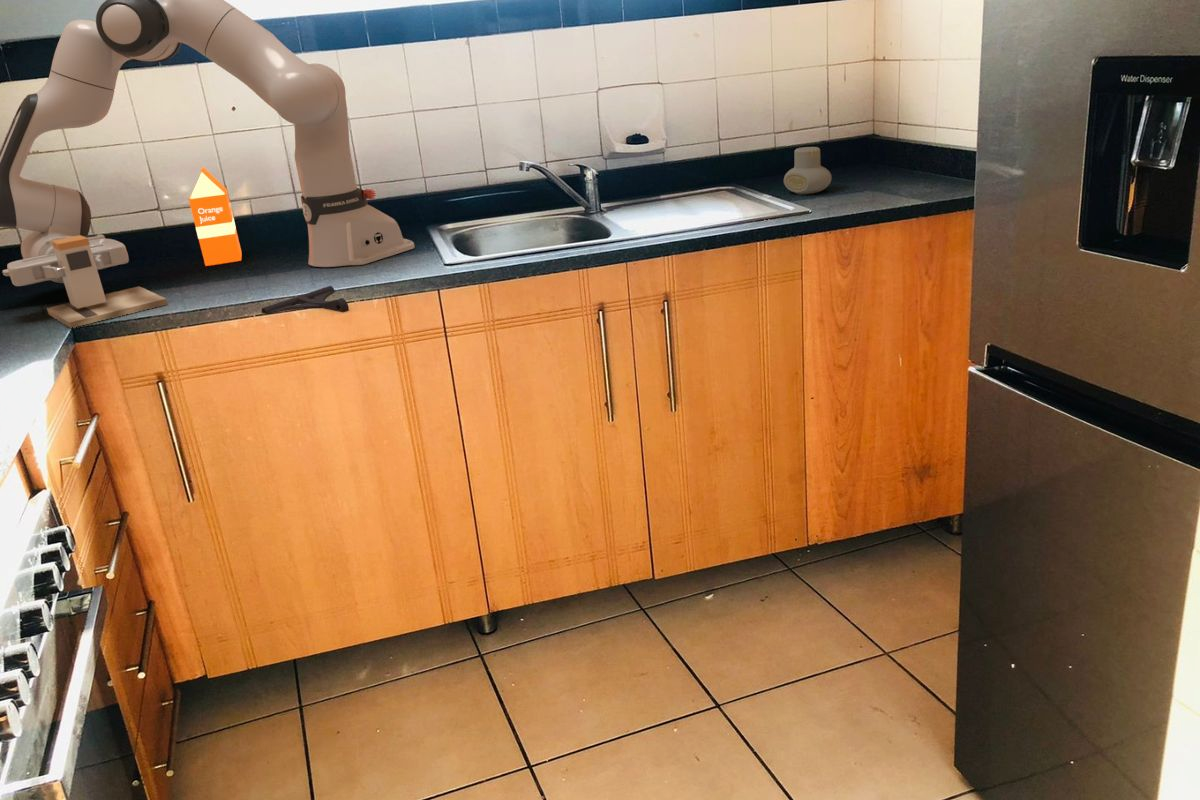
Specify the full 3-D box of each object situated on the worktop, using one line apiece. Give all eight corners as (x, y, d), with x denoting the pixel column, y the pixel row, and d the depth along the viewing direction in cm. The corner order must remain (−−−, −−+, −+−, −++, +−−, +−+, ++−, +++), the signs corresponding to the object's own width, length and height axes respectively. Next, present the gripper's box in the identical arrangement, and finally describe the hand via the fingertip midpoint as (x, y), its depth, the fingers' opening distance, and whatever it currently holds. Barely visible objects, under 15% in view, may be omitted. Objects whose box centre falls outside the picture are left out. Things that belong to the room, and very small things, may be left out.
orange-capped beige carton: (98, 297, 180) (80, 235, 175) (106, 301, 176) (88, 238, 172) (70, 304, 177) (51, 240, 172) (78, 308, 173) (58, 244, 169)
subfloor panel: (141, 292, 190) (139, 285, 189) (167, 304, 178) (165, 298, 178) (48, 314, 180) (46, 307, 179) (70, 329, 168) (68, 322, 168)
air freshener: (837, 190, 221) (837, 146, 217) (815, 197, 216) (814, 152, 213) (800, 187, 229) (799, 145, 225) (778, 193, 224) (777, 150, 221)
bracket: (311, 327, 158) (308, 311, 157) (262, 316, 167) (259, 301, 166) (380, 303, 168) (377, 288, 167) (330, 294, 177) (327, 280, 176)
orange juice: (204, 266, 207) (181, 173, 199) (206, 258, 215) (184, 168, 207) (242, 260, 209) (220, 168, 201) (242, 252, 217) (221, 163, 209)
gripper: (-6, 255, 176) (10, 265, 166) (110, 232, 188) (131, 240, 178) (5, 287, 178) (22, 299, 168) (119, 263, 190) (140, 272, 180)
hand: (79, 269), depth 173 cm, fingers closed on orange-capped beige carton, 5 cm apart
